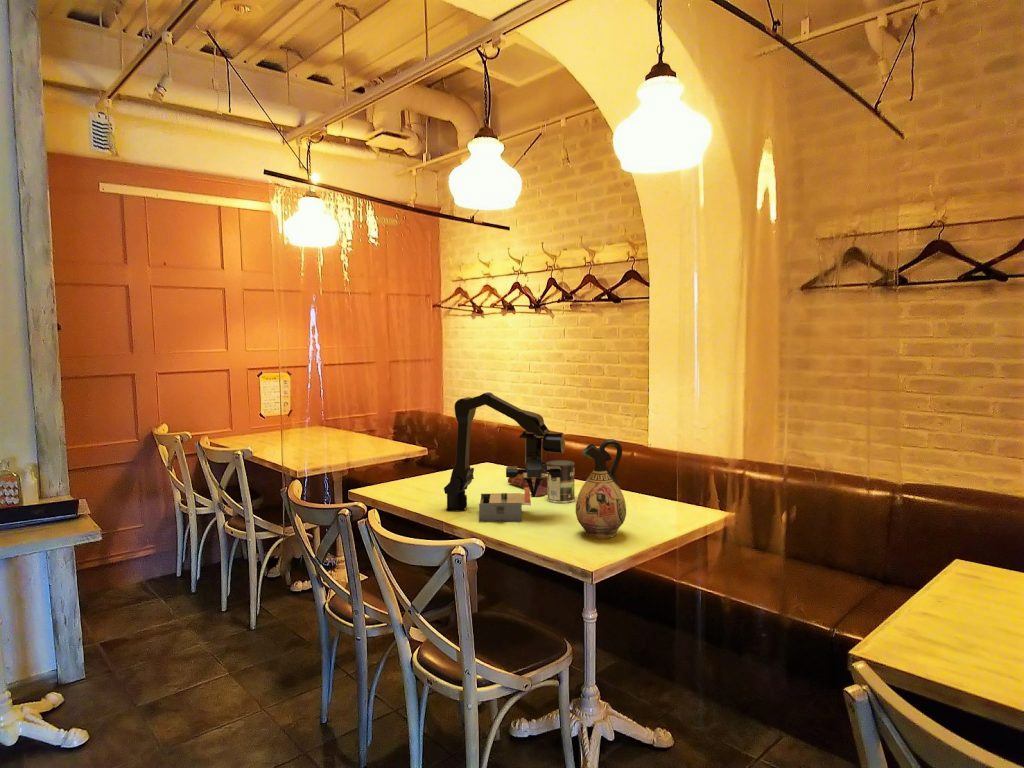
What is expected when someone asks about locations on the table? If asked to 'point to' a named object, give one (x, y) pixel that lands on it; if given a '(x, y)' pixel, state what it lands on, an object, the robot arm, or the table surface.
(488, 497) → the grey box
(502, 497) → the lid
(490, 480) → the table surface
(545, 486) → the cured meat
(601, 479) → the ceramic jug
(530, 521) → the table surface
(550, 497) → the coffee can
